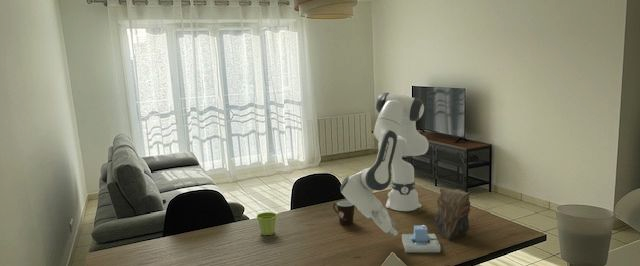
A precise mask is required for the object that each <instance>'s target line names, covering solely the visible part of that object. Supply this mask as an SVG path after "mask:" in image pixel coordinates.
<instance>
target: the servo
mask: <svg viewBox="0 0 640 266" xmlns="http://www.w3.org/2000/svg"><path fill="white" fill-rule="evenodd" d="M413 234H414V235H411V239H412V240H414V243H418V242H427V240H431V238H430V236H429V235H427V234H429V232H428V227H427V226H426V225H425V224H421V225H420V224H419V225H413Z"/></svg>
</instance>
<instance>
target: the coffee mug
mask: <svg viewBox="0 0 640 266" xmlns="http://www.w3.org/2000/svg"><path fill="white" fill-rule="evenodd" d="M335 206H337V210H336V208H335ZM332 207H333V210H334V212H336V213H337V215H338V221H339V224H340V225H341V226H352V225H353V224H354V216H355V207H356V206H355V205H353V204H351V203H350V202H349V201H348V200H341V201H338V202H336V203H333V205H332Z"/></svg>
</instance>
